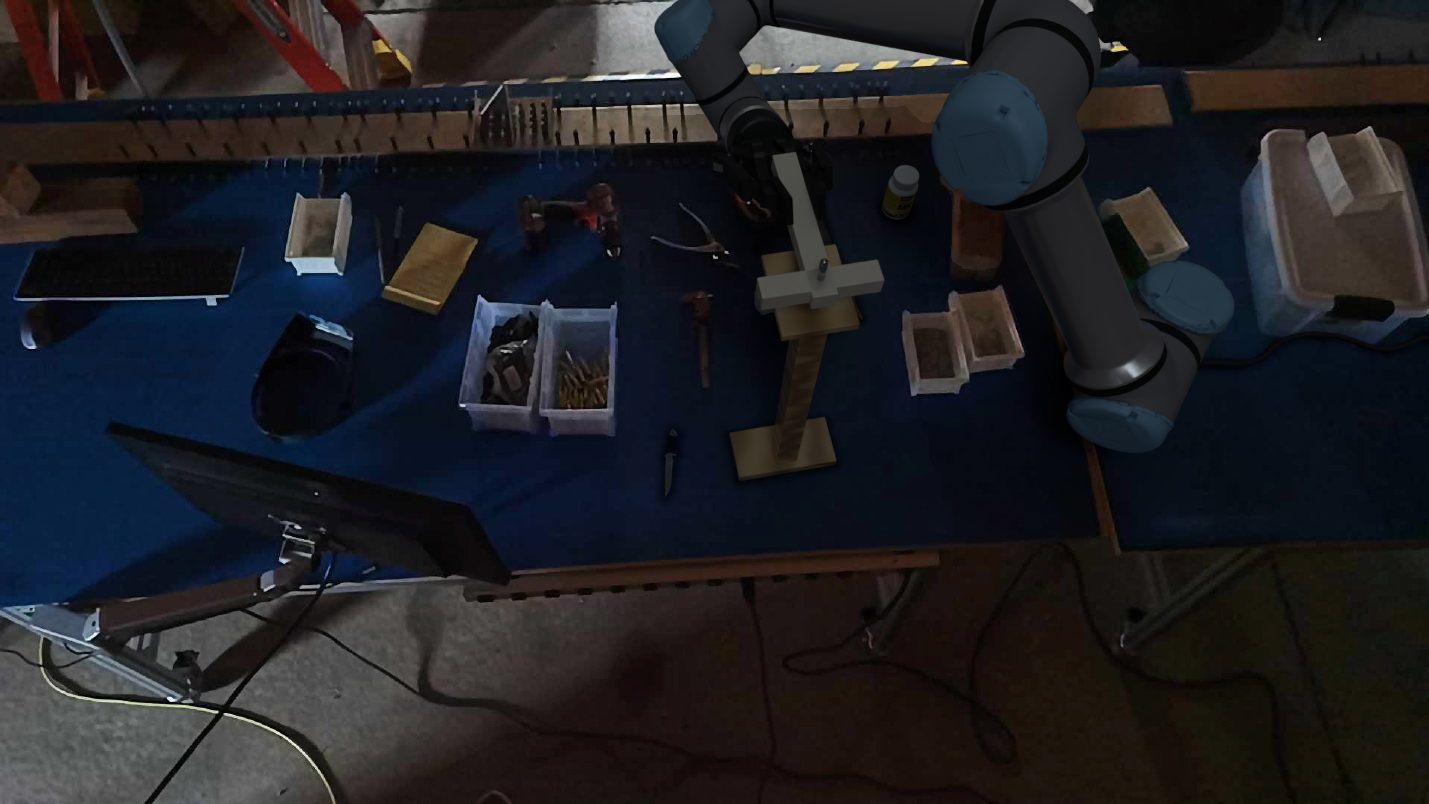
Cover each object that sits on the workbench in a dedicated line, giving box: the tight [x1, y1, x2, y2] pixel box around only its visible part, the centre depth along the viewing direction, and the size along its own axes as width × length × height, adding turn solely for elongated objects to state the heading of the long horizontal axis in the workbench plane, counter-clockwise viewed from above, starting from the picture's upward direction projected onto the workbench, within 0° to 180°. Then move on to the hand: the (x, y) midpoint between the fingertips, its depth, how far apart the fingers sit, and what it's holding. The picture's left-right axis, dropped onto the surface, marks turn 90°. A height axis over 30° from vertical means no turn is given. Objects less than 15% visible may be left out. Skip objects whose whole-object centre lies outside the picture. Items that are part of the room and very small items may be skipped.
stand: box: [729, 243, 861, 482], centre depth 106 cm, size 14×10×40 cm
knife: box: [663, 428, 678, 497], centre depth 122 cm, size 10×2×1 cm, turn 170°
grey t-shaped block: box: [755, 152, 885, 310], centre depth 85 cm, size 12×18×5 cm, turn 11°
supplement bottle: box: [881, 164, 920, 221], centre depth 139 cm, size 5×5×8 cm
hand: (805, 209), depth 84 cm, fingers closed on grey t-shaped block, 2 cm apart
